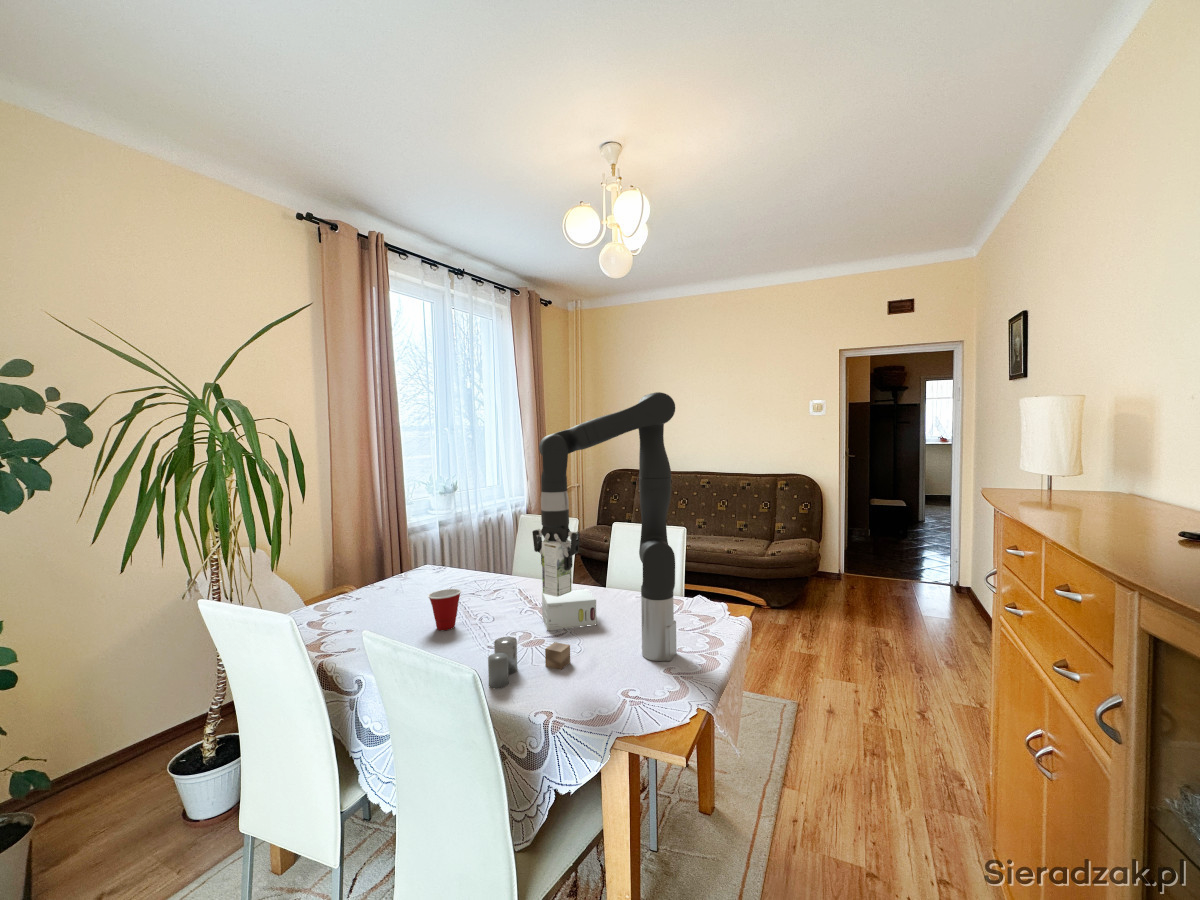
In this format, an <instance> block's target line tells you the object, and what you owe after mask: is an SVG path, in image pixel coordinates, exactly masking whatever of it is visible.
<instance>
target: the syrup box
mask: <svg viewBox="0 0 1200 900" xmlns="http://www.w3.org/2000/svg"><path fill="white" fill-rule="evenodd" d="M568 543H569V544H570V547H571V539H568V541H565V542H563V544H564V545H566V544H568ZM567 550H568V548H567ZM564 557H565V555H564V553H563V551H562V549H561V544H560V543H558V542H557V541H544V540H542V564H541V568H542V575H541V577H542V578H541V579H542V592H543V593H544V594H548V595H552V596H556V597H558V596H561V595H563V594H566V593H569V592H571V590H572V568H571V569H570V570H568V571H567V570H565V563H564Z"/></svg>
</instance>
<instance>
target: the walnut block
mask: <svg viewBox="0 0 1200 900" xmlns="http://www.w3.org/2000/svg"><path fill="white" fill-rule="evenodd" d="M544 652H545V654H544V655H545V658H544V659H545V660H544V661H545V662H544V663H545V667H547V668H551V669H555V670H560V671H561V670H563V669H564V668H566V667H567V666H568V665H569V664H570V663H571V644H566V643H562V642H556V641H555V642H553V643H552V644H550V645H548V646H547V647H546V648H545V651H544Z"/></svg>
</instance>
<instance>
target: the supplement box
mask: <svg viewBox="0 0 1200 900" xmlns="http://www.w3.org/2000/svg"><path fill="white" fill-rule="evenodd" d="M541 599H542V600H541V602H542V603H541V606H542V607H541V611H542V612H541V613H542V614H541V615H542V617H543V618H542V620H543V623H544V626H545V628H546V629H545V630H546V631H547V630H551V631H556V630H555V629H561V630H564V629H563V628H571V629H573V628H572V627H580V626H587V625H595V624H597V598H596V597H595V596H594V594H593V593H592V591H591V590H590V589H589V588H583V589H582V588H579V589H571V592H569V593H566V594H563V595H561V596H558V597H556V596H552V595H548V594H544V593H543V591H542V593H541ZM580 628H581V627H580Z"/></svg>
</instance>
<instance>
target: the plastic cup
mask: <svg viewBox="0 0 1200 900" xmlns="http://www.w3.org/2000/svg"><path fill="white" fill-rule="evenodd" d="M461 593H462V589H459V588H447V589H440V590H437V591H433V592H430V593H429V594H427V597H428V599H429V601H430V604H431V607H432V612H433V618H434V621H435V626H436V627H435V628H436V629H437V630H438V631H441V630H445V631H449V630H448V629H450V630H452V629H454V628H455V627H456V620H457V615H458V608H459V603H460V596H461ZM454 626H455V627H454ZM453 627H454V628H453ZM451 628H452V629H451Z"/></svg>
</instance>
